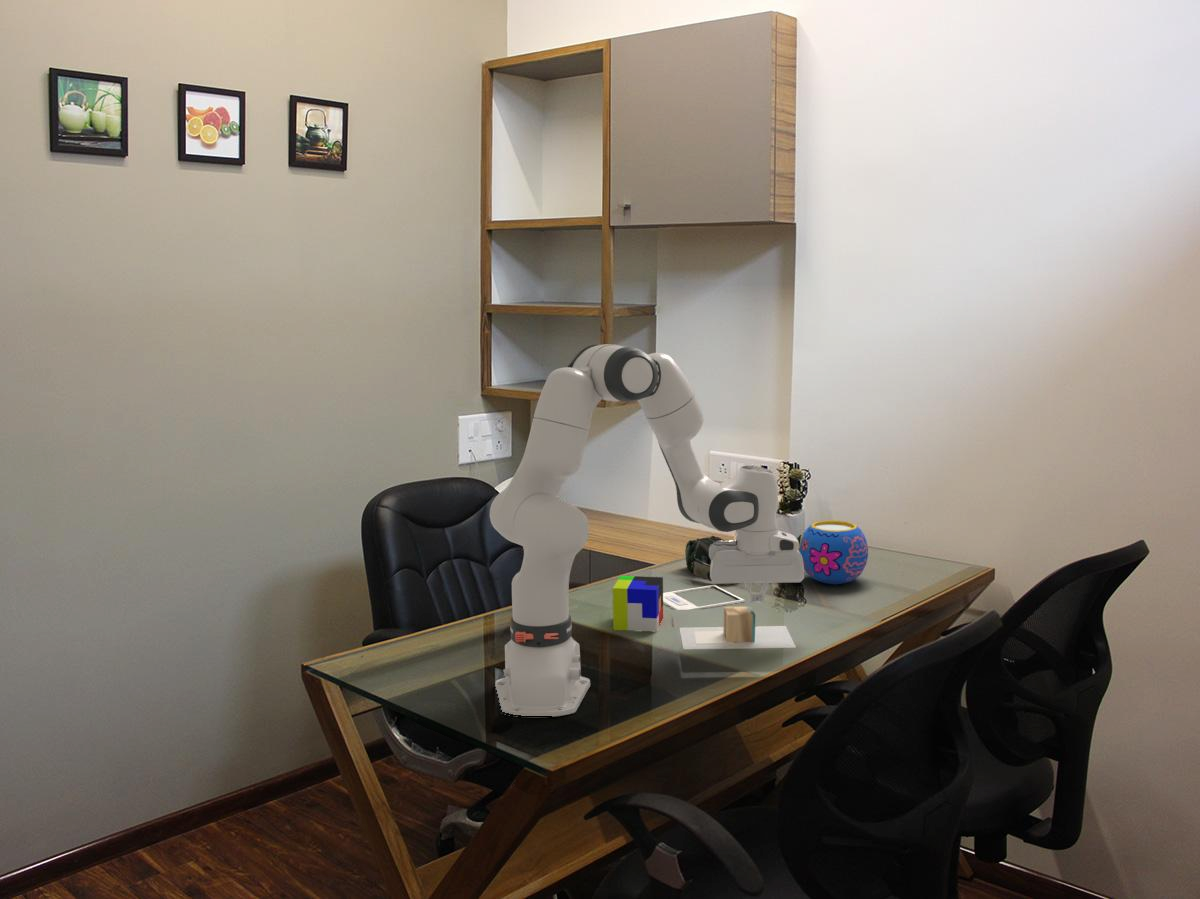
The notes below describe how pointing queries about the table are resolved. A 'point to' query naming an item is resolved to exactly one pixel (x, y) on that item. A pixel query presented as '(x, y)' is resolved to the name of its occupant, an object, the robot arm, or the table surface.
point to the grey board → (717, 640)
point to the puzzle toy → (638, 603)
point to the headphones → (700, 557)
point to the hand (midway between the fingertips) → (756, 601)
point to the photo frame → (683, 604)
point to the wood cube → (739, 624)
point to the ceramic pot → (833, 551)
